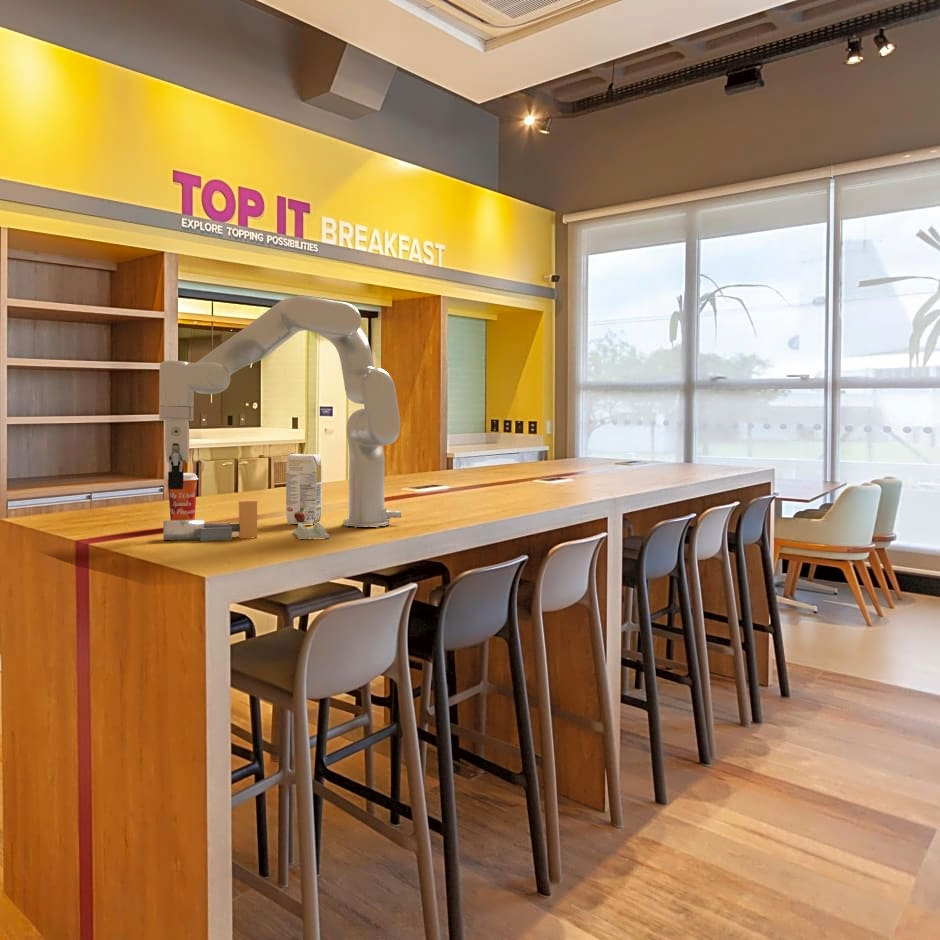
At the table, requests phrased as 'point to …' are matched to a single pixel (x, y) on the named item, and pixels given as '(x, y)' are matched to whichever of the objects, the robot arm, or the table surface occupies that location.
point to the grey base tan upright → (243, 519)
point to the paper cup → (184, 499)
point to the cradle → (310, 531)
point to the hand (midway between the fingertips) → (175, 487)
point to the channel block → (216, 533)
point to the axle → (182, 529)
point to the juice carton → (303, 488)
